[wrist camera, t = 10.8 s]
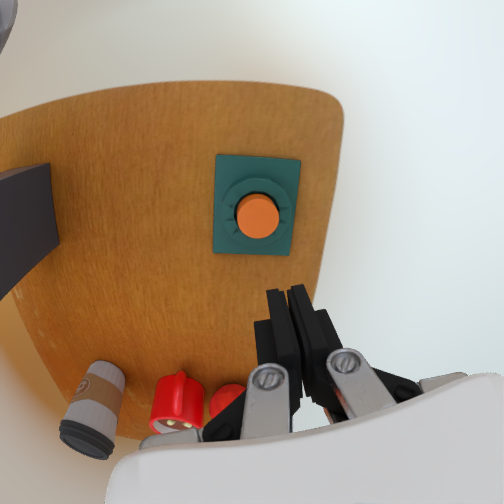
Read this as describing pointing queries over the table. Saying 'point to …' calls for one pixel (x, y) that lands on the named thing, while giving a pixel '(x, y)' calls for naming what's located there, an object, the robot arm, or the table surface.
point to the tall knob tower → (25, 222)
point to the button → (257, 216)
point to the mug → (177, 404)
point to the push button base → (246, 183)
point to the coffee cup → (94, 411)
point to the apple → (224, 398)
